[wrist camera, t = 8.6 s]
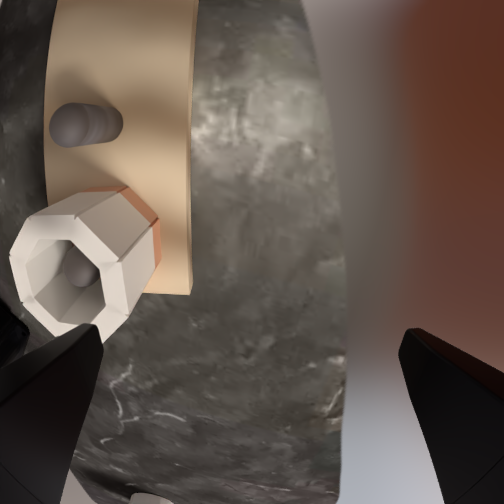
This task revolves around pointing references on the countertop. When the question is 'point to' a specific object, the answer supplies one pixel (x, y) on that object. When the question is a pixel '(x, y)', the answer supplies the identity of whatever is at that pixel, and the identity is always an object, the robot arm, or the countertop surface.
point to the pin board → (124, 118)
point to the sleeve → (96, 249)
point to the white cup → (148, 499)
